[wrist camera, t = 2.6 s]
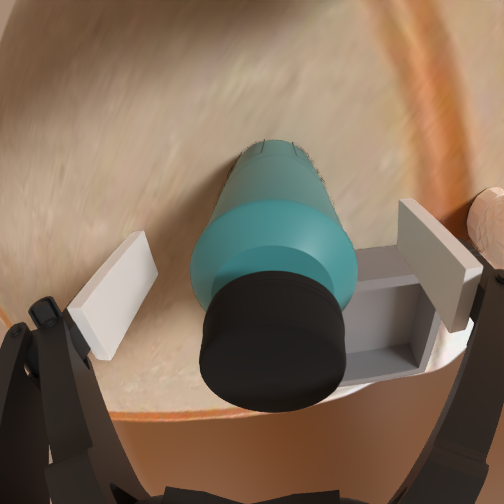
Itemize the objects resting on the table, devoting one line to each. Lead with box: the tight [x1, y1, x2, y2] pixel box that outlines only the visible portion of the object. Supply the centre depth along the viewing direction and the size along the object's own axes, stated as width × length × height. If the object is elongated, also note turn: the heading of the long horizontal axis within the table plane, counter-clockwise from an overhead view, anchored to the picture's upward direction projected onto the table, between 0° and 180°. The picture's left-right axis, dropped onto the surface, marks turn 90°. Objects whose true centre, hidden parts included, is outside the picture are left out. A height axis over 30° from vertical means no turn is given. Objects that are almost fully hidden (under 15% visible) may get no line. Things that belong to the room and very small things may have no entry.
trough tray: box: [338, 245, 441, 387], centre depth 29 cm, size 14×19×5 cm
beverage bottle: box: [190, 139, 358, 413], centre depth 16 cm, size 6×7×20 cm
